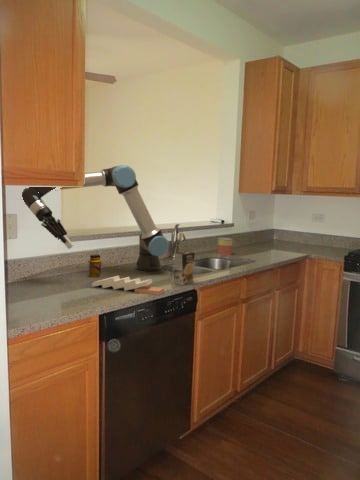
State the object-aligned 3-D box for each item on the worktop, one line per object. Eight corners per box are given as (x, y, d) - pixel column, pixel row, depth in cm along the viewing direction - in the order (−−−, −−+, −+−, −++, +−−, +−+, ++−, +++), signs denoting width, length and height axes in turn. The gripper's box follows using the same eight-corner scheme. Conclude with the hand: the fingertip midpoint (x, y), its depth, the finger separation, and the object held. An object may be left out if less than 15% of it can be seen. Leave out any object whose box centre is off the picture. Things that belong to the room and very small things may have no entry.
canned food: (233, 254, 303) (234, 238, 302) (230, 256, 293) (231, 240, 291) (218, 252, 307) (219, 237, 305) (215, 255, 296) (216, 239, 295)
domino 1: (91, 283, 189) (113, 277, 185) (97, 280, 194) (118, 275, 191) (92, 287, 189) (114, 281, 185) (98, 284, 194) (119, 278, 191)
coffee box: (182, 285, 200) (183, 254, 198) (173, 283, 204) (174, 252, 202) (193, 282, 207) (194, 252, 205) (184, 280, 211) (185, 250, 209)
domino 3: (112, 286, 185) (134, 280, 182) (118, 283, 191) (140, 277, 187) (113, 289, 186) (135, 284, 182) (119, 286, 191) (141, 281, 187)
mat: (91, 283, 199) (91, 281, 199) (147, 289, 190) (147, 288, 190) (80, 288, 189) (80, 286, 188) (138, 295, 180) (138, 294, 180)
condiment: (101, 278, 209) (101, 256, 208) (85, 278, 208) (85, 256, 206) (101, 275, 217) (101, 253, 215) (85, 275, 215) (85, 253, 213)
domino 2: (101, 284, 187) (123, 279, 183) (107, 282, 193) (129, 276, 189) (102, 288, 187) (124, 282, 183) (108, 285, 193) (130, 280, 189)
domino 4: (123, 287, 184) (146, 281, 180) (128, 284, 190) (151, 278, 186) (124, 290, 184) (147, 285, 180) (130, 287, 190) (152, 282, 186)
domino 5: (134, 288, 182) (159, 291, 179) (139, 285, 188) (163, 288, 184) (134, 292, 182) (159, 295, 179) (139, 289, 188) (163, 292, 185)
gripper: (37, 206, 189) (68, 243, 186) (53, 205, 201) (82, 240, 198) (28, 217, 191) (58, 254, 188) (45, 215, 203) (73, 250, 201)
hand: (71, 247), depth 193 cm, fingers closed
